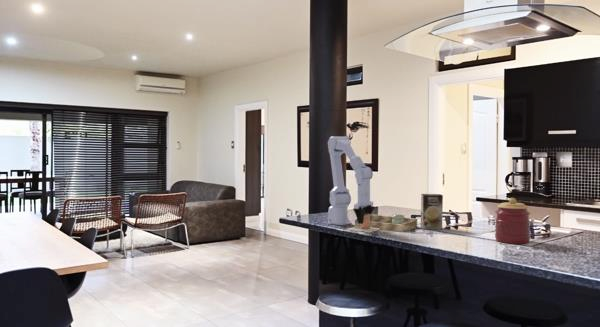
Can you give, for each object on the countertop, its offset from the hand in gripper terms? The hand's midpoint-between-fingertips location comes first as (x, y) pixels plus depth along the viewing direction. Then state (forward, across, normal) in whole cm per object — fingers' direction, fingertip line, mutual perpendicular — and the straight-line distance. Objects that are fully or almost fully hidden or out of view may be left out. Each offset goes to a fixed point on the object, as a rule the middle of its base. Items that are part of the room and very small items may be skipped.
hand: (363, 222), depth 216 cm
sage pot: (+3, +13, -11) cm, 17 cm away
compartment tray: (+3, +13, -4) cm, 14 cm away
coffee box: (+4, +22, -24) cm, 33 cm away
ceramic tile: (+3, 0, 0) cm, 3 cm away
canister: (+4, +12, -62) cm, 63 cm away
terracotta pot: (+2, +1, 0) cm, 2 cm away
